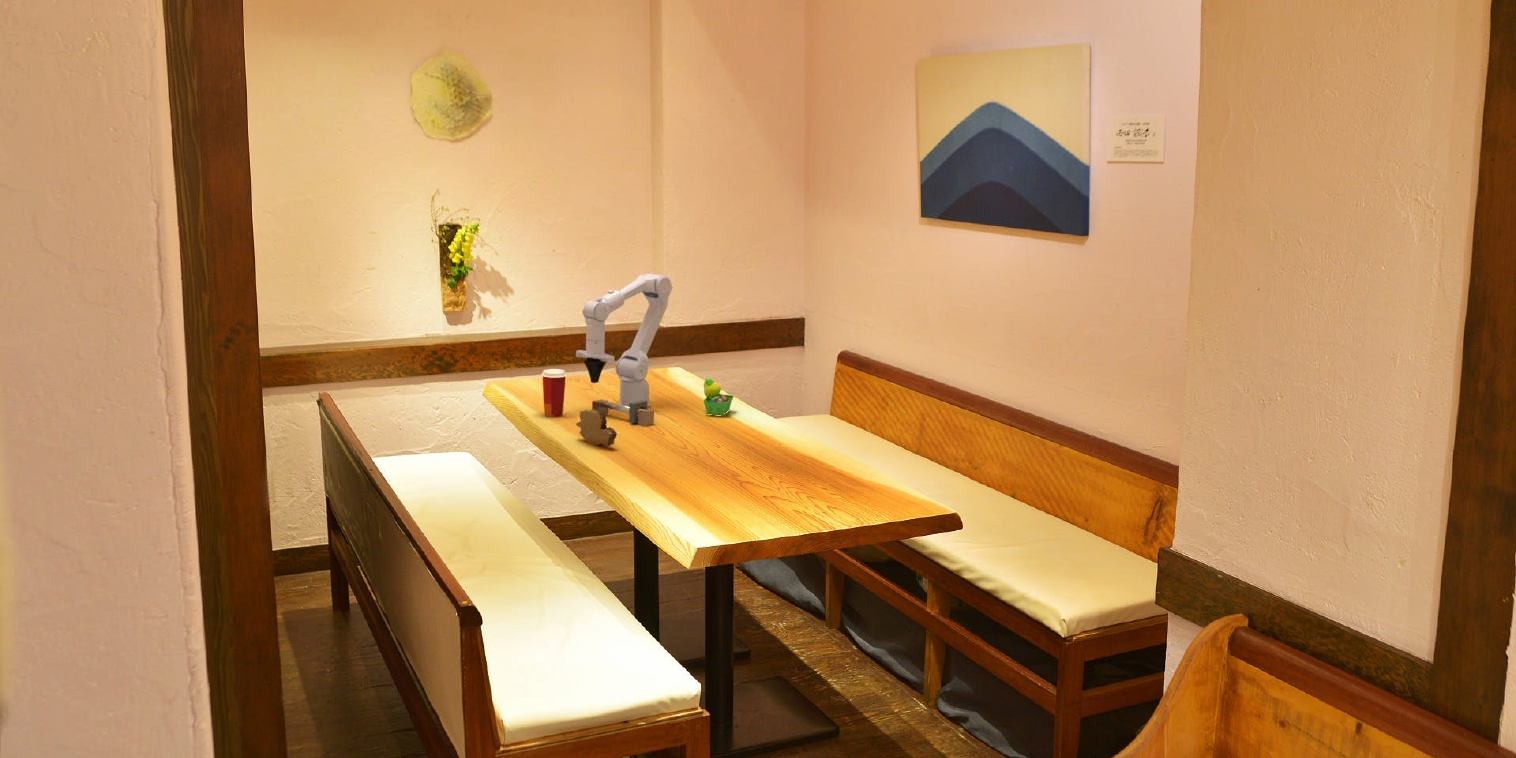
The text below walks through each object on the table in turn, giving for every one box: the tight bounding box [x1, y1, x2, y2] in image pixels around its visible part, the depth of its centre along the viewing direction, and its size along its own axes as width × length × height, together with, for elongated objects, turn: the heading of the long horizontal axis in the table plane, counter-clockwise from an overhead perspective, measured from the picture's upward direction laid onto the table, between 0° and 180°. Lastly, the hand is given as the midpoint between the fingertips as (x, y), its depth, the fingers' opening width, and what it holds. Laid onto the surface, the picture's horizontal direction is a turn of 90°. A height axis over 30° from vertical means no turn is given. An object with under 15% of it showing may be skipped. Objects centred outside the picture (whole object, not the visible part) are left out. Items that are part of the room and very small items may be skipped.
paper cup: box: [540, 368, 567, 418], centre depth 401 cm, size 8×8×14 cm
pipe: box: [591, 399, 655, 427], centre depth 399 cm, size 22×4×5 cm, turn 54°
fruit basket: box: [703, 377, 734, 417], centre depth 412 cm, size 11×9×11 cm
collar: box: [628, 400, 648, 424], centre depth 396 cm, size 2×6×6 cm, turn 144°
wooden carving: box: [575, 409, 618, 447], centre depth 368 cm, size 16×5×10 cm, turn 48°
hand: (594, 382), depth 405 cm, fingers closed
